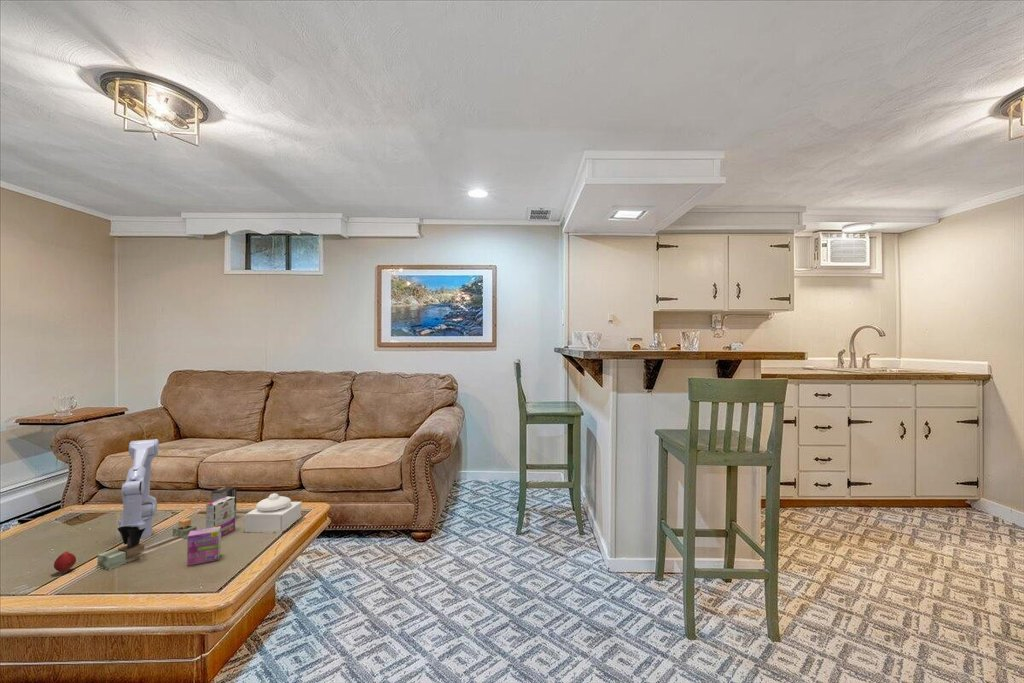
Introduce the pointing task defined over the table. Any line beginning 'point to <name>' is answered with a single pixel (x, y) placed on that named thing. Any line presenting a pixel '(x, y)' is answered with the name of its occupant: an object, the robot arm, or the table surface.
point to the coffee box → (224, 494)
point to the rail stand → (119, 557)
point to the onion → (64, 562)
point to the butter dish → (272, 514)
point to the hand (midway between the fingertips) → (131, 544)
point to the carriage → (131, 548)
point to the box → (203, 545)
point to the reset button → (184, 523)
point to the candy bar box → (221, 515)
